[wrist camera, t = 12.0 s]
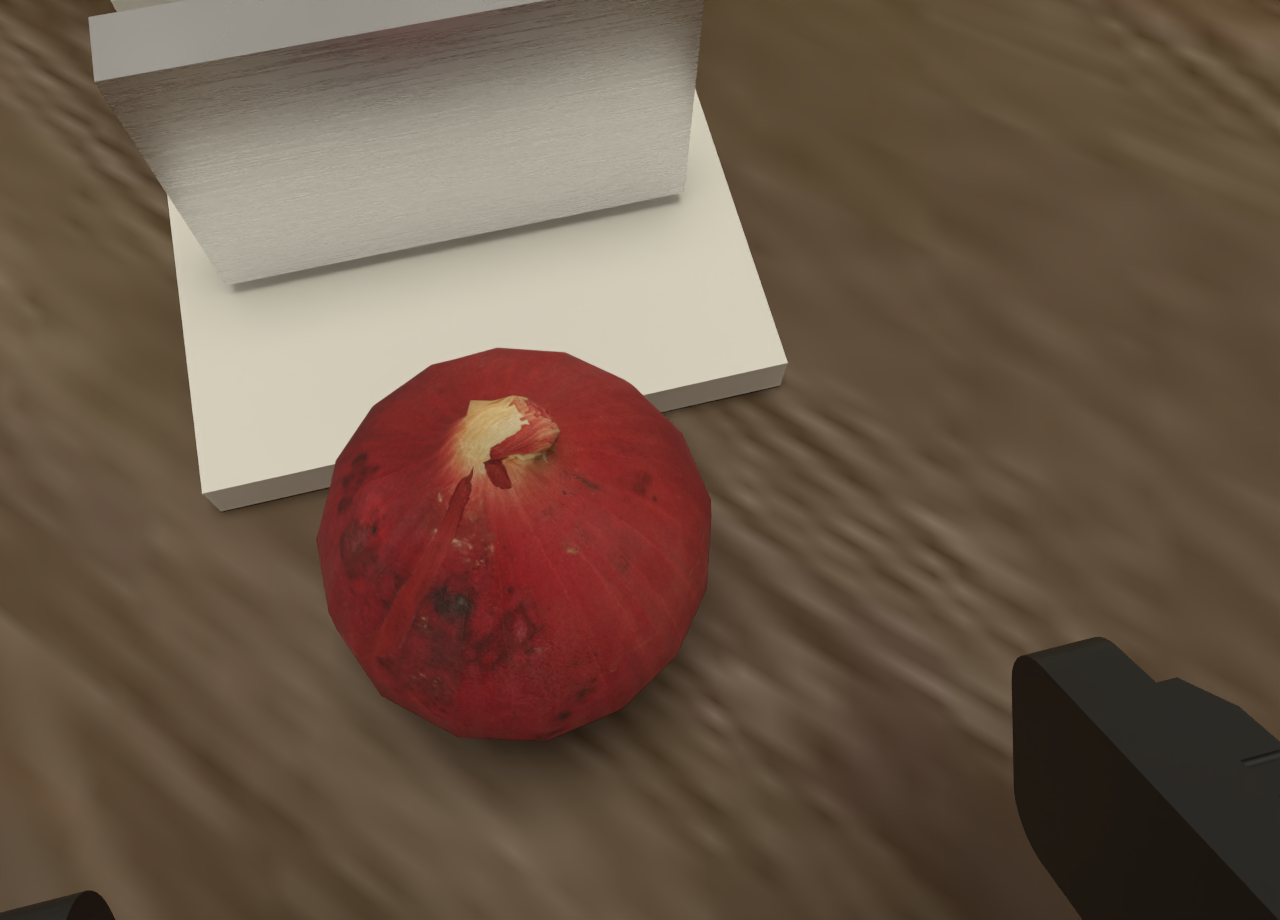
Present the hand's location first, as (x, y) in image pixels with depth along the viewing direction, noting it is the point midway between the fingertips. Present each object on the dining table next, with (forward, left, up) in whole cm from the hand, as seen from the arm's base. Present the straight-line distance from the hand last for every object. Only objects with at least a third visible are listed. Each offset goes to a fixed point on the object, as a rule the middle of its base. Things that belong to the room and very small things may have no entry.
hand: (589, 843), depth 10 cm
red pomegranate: (-2, -4, -10) cm, 11 cm away
